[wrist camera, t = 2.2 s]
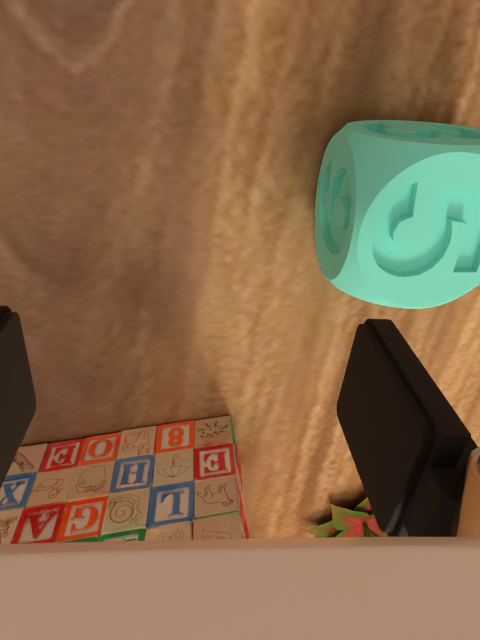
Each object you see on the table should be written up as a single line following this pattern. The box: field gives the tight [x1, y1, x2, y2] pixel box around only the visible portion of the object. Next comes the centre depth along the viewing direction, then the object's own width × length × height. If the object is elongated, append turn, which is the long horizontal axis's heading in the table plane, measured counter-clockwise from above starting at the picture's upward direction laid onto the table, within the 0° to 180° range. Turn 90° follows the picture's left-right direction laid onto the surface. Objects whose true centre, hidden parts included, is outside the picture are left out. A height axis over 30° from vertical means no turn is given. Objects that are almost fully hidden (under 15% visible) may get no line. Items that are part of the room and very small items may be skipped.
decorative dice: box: [315, 120, 480, 309], centre depth 24 cm, size 8×8×8 cm
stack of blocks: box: [0, 416, 249, 544], centre depth 33 cm, size 21×6×12 cm, turn 97°
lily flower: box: [303, 498, 388, 538], centre depth 44 cm, size 12×12×5 cm
